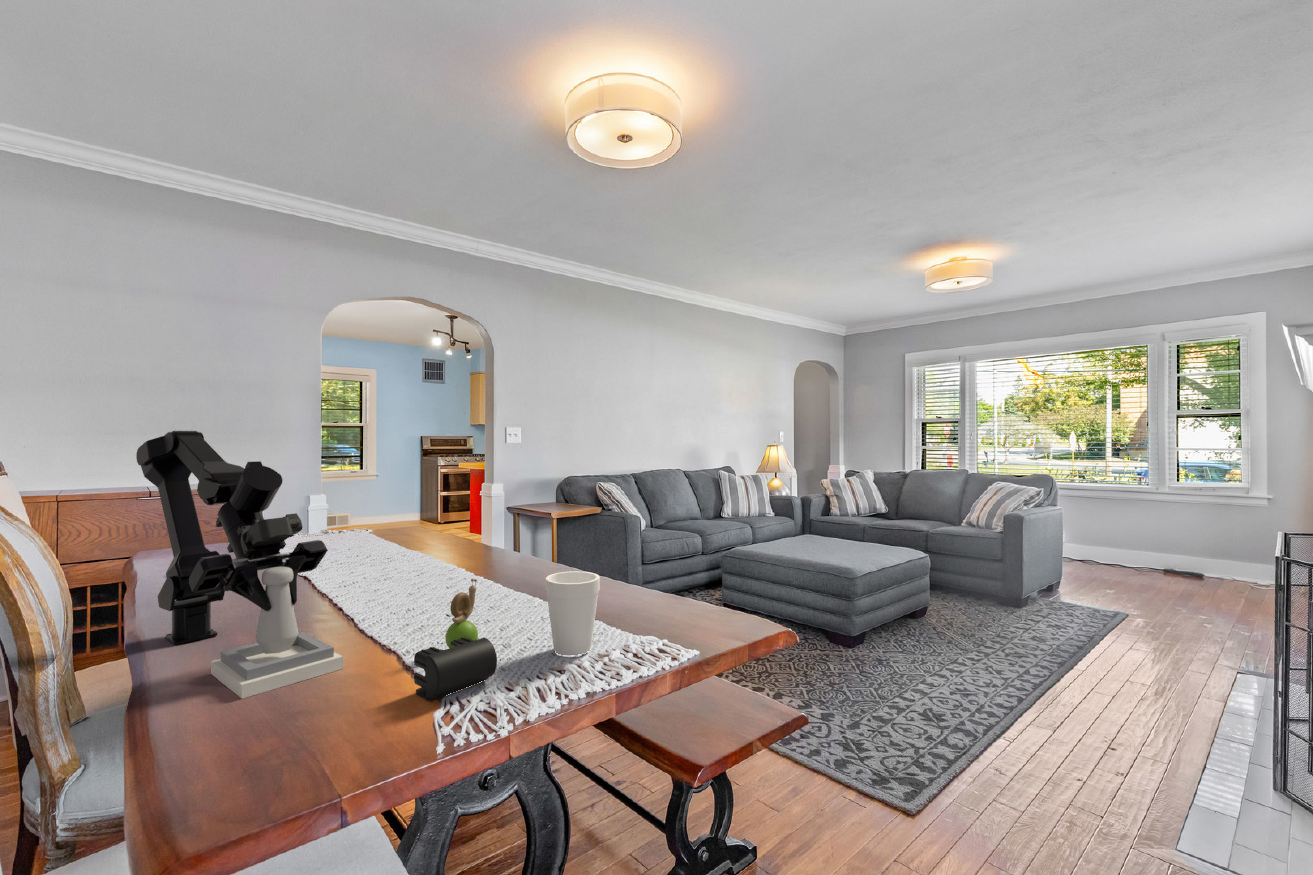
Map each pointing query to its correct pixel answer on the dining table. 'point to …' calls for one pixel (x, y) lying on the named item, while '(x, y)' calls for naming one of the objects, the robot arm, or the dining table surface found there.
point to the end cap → (454, 667)
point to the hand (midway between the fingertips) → (281, 606)
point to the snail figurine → (462, 617)
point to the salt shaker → (277, 613)
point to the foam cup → (572, 610)
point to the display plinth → (274, 665)
